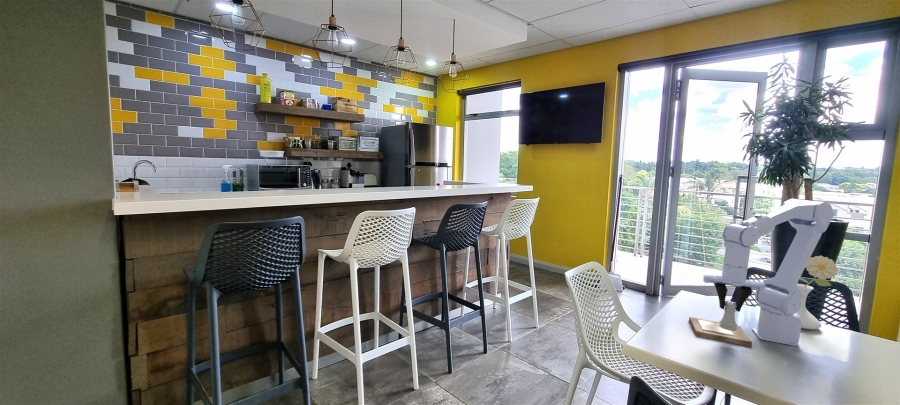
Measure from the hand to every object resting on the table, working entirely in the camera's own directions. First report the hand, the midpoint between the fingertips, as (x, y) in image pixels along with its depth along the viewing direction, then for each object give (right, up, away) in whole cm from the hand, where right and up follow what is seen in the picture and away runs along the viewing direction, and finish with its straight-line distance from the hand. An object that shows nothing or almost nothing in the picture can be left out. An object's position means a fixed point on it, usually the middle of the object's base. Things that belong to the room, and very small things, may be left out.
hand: (729, 309), depth 112 cm
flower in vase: (+35, -10, +15) cm, 40 cm away
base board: (+1, -9, +6) cm, 11 cm away
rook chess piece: (-1, -6, 0) cm, 6 cm away
